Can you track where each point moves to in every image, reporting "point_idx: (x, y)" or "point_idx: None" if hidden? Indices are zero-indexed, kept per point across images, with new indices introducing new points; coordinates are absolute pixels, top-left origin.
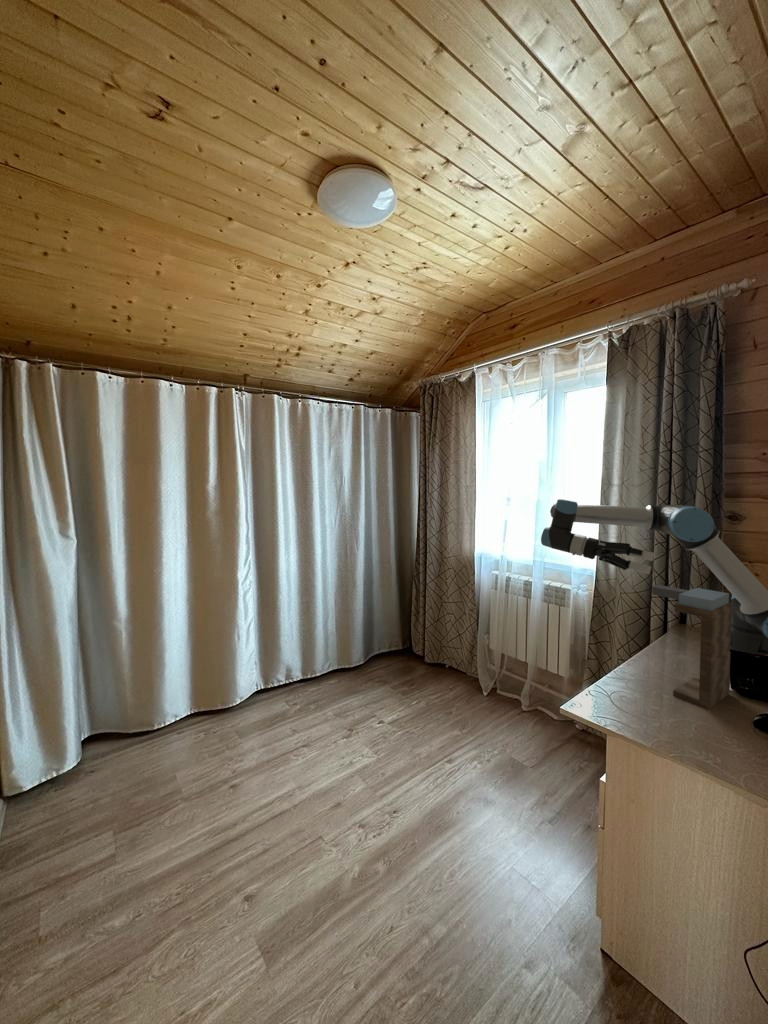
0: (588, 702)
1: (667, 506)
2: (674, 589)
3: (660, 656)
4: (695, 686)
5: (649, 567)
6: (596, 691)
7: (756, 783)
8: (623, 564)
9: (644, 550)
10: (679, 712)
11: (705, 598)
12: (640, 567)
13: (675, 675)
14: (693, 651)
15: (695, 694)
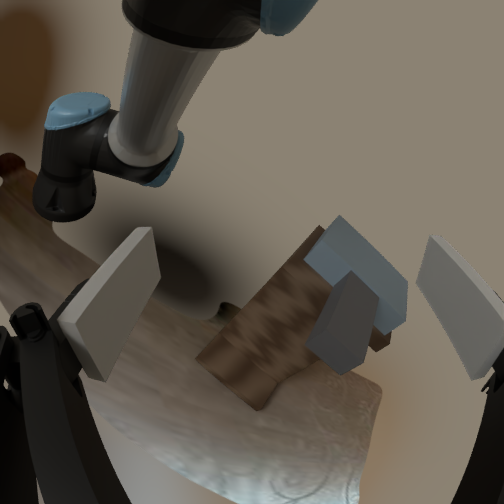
0: None
1: None
2: (362, 306)
3: None
4: (234, 369)
5: (150, 241)
6: None
7: (375, 384)
8: (87, 416)
9: (472, 267)
10: (300, 416)
11: (402, 284)
12: (129, 291)
13: (171, 376)
14: (51, 275)
15: (262, 381)
